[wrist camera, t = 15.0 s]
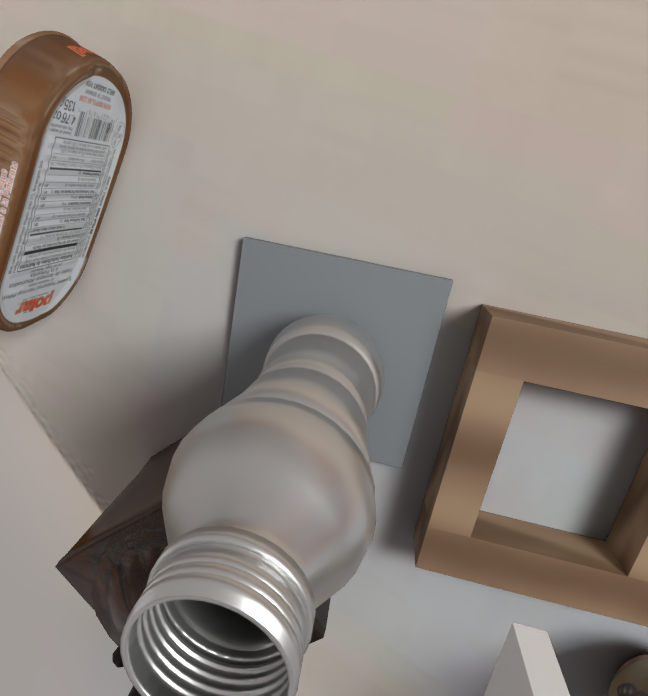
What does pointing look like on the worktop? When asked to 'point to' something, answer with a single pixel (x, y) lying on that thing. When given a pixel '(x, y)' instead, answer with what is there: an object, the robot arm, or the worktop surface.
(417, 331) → the rubber mat
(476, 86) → the worktop surface
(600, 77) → the worktop surface
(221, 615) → the plastic bottle
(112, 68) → the tin
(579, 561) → the brown rectangular frame
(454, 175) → the worktop surface
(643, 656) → the ceramic vessel
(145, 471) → the coffee grinder
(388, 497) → the worktop surface
